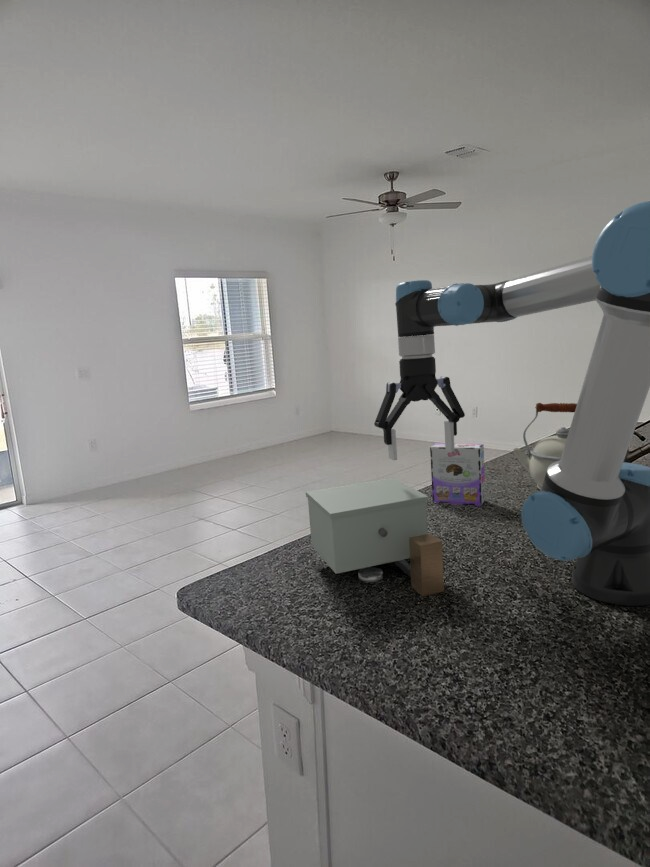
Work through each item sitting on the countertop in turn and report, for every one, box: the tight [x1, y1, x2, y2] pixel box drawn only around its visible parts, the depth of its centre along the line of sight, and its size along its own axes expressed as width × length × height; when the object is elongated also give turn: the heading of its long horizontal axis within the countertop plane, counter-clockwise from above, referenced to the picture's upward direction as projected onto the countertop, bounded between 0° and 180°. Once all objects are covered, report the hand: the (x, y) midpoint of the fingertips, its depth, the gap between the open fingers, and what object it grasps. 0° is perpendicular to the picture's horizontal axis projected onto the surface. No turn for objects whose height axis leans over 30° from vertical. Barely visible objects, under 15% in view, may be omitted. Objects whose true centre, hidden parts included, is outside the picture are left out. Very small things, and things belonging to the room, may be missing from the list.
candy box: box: [429, 442, 486, 507], centre depth 154 cm, size 14×6×16 cm, turn 63°
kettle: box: [512, 402, 577, 491], centre depth 159 cm, size 25×18×25 cm
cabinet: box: [305, 477, 429, 575], centre depth 115 cm, size 18×21×16 cm
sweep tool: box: [394, 533, 445, 597], centre depth 110 cm, size 15×4×10 cm, turn 18°
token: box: [357, 566, 384, 583], centre depth 113 cm, size 5×5×1 cm
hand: (421, 455), depth 120 cm, fingers open, 13 cm apart
